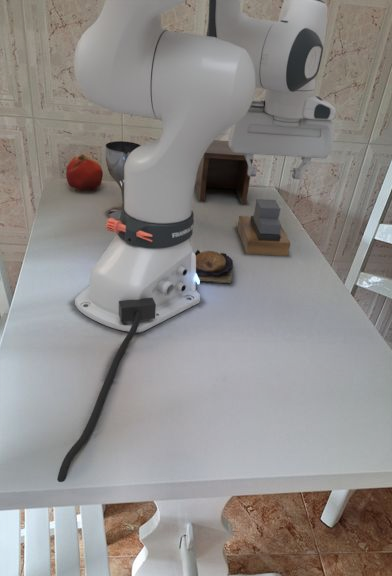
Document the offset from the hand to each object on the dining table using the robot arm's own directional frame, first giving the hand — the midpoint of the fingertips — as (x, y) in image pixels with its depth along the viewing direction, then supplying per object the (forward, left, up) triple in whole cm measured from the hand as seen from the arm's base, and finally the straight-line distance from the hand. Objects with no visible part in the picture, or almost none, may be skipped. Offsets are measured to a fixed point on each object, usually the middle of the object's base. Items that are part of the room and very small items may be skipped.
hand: (273, 176), depth 100 cm
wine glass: (-9, +31, -14) cm, 35 cm away
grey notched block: (0, 0, -11) cm, 11 cm away
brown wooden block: (0, 0, -14) cm, 14 cm away
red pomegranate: (-3, +48, -14) cm, 50 cm away
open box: (+19, +21, -14) cm, 31 cm away
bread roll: (-19, +2, -14) cm, 24 cm away
